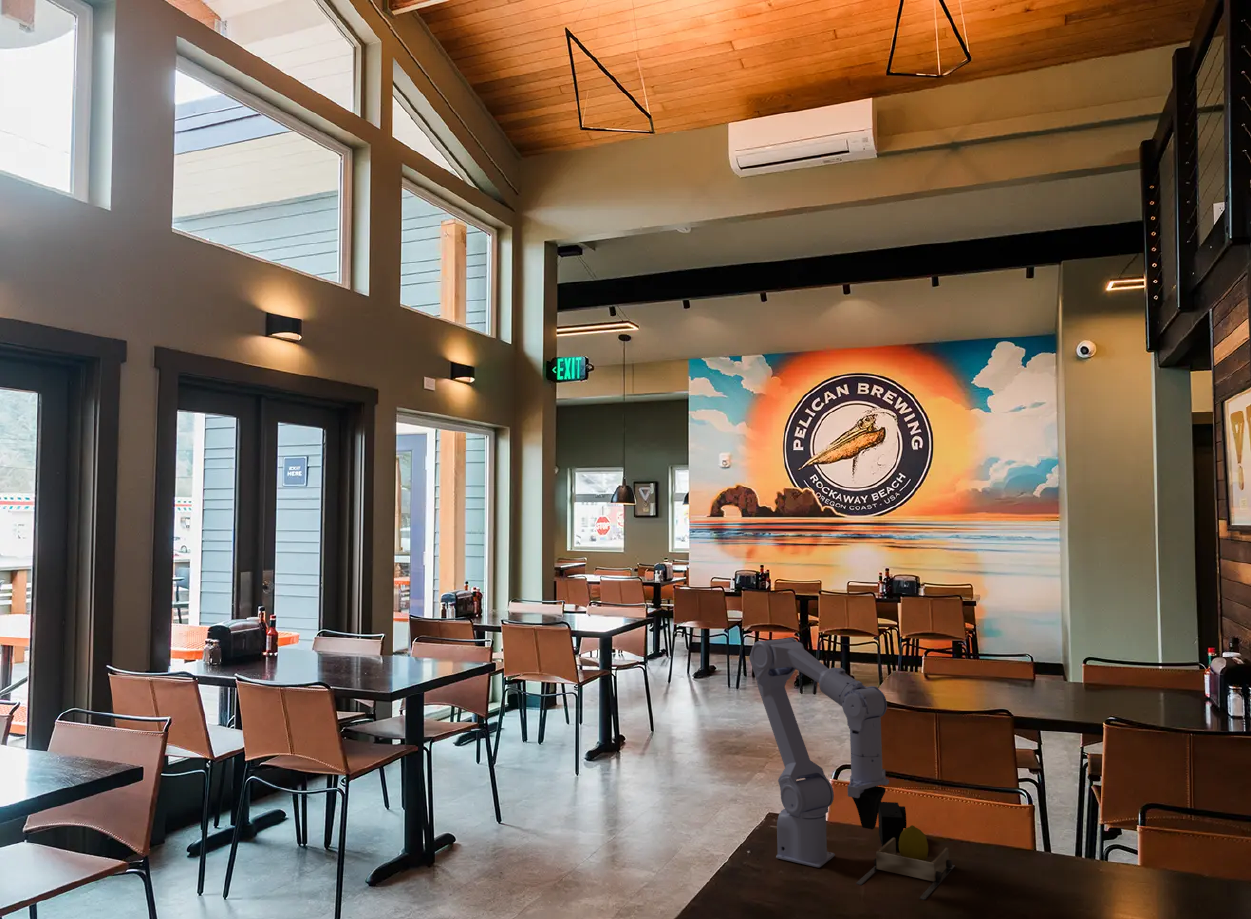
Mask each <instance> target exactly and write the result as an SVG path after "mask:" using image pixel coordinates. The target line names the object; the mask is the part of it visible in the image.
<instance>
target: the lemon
mask: <svg viewBox="0 0 1251 919" xmlns="http://www.w3.org/2000/svg"><path fill="white" fill-rule="evenodd" d="M898 842H899V851H898V852H899V854H900V856H903V857H908V858H912V859H917V860H922V861H926V860H927V858H928V857H929V856H928V854H929V844H928V840H927V837H926V834H925V833H924V832H923V831H922V830H921V829H920V828H918V827H916V826H915V825H910V826H908V827H906V828H903V831H902V832H901V834H900V838H899V841H898Z"/></svg>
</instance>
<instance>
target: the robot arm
mask: <svg viewBox="0 0 1251 919" xmlns="http://www.w3.org/2000/svg"><path fill="white" fill-rule="evenodd" d="M748 658H749V659H748V660H749V662H750V665H751V668H752V671H753V673H754V676H755V680H756V683H757V685H756V686H757V688H758V691H759V694H760V697H761V701H762V703H763V705H764V709H765V712H766V714H767V715H766V716H767V718H768V720H769V725H770V728H771V730H772V734H773V736H774V739H775V743H776V745H777V747H778V750H779V751H778V752H779V754H780V757H781V759H782V763H783V766H784V769H783V770H782V772H781V774H780V776H779V777H778V780H777V782H778V785H779V788H780V789H779V790H780V800H781V803H782V806H783V809H781V810H780V812H779V814H778V818H777V821H776V831H777V832H776V835H777V836H776V837H777V838H776V841H777V843H776V844H777V854H776V856H775V859H778V860H779V859H780V860H783V861H788V862H793V863H797V864H799V865H801V864H802V865H806V866H810V867H814V868H821V867H822V866H824V865H825V864H826V863H828V862H829V861H830V860H831V859H833V858H834V857H835V855H836V854H835V853H834V852H831V851H830V852H829V851H828V848H827V847H828V843H827V815H826V814H827V813H829V807H830V806H832V804H833V802H834V799H835V798H834V796H835V792H834V788H833V786H832V783H831V782H830V780H829V779H828V778H827V776H826V775H825V773H824V769H823V768H822V767H821V766H819V765H818V764H817V763H815V762H813V761H812V760H811V759H810V756H809V754H808V750H807V748H806V744H805V741H804V739H803V735H802V732H801V730H800V727H799V725H798V722H797V719H796V715H795V712H794V710H793V707H792V704H791V701H790V699H789V695H788V693H787V690H786V687H785V686H786V684H787V683H788V682H787V681H788V680H790V679H791V677H792V676H793V674H794V673H795V671H796V670H797V671H798V672H800V673H801V674H803V675H804V676H807V677H809V678H810V679H812V680H813V681H815V682H816V683H818V684H819V690H820V692H821V693H823V695H825V696H827V697H828V698H829V699H831V700H832V701H833V702H835V703H836V704H837V705H839V706H841V707H842V711H843V714H844V715H845V717H846V721H847V724H846V725H847V726H848V729H849V738H850V739H849V741H850V743H849V744H850V746H849V747H850V769H851V770H850V772H851V774H850V777H849V784H848V785H847V797H848V798H849V797H850V798H852V800H853V802H854V805H855V807H856V810H857V813H858V817H859V820H860V821H859V822H860V824H861V828H862V829H867V830H868V829H869V830H874V829H875V828H876V826H877V820H878V810H879V806H880V803H881V802H882V799H883V798H884V795H885V793H886V787H884V786H887V785H889V784H890V779H889V778H886V777H887V776H886V768H884V769H883V753H882V752H883V751H882V750H883V749H882V748H883V747H882V723H881V722H882V720H881V718H882V717H883V716H884V715H885V713H886V712H887V709H888V703H887V702H888V701H887V699H886V696H885V694H884V692H882V690H880V689H879V687H877V686H873V685H871V686H867V685H864V684H863V682H862V681H860V680H856V679H854V677H852V676H850V675H848V674H847V673H846V670H845V669H843V668H842V667H830V668H828V667H827V666H826V665H825V664H823V663H822V662H821V661H819V660H818V659H817V658H816V657H815V656H813V655H812V654H811V653H810V652H808V651H807V650H806V649H805V647H804V644H803V643H802V642H800V641H798V640H797V639H795V638H793V637H787V638H781V639H780V638H779V639H769V640H758V641H756V642H754V644H752V647H751V651H750V654H749V657H748ZM881 785H882V786H881Z"/></svg>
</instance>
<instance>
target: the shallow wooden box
mask: <svg viewBox="0 0 1251 919" xmlns="http://www.w3.org/2000/svg"><path fill="white" fill-rule="evenodd" d="M873 865H874V866H877V869H879V870H880V871H885V872H888V873H893V874H894V873H895V874H896V875H897V874H898V875H903V876H907V877H908V876H909V877H913V878H917V879H921V880H925V881H930V882H934V881H935V880H936V879H938V880H941V878H942V872H943V871H944V870H945V869H946V868H947V867H948V868H952V865H953V861H952V860H951V859H950V857H949V847H945V848H944V849H943V850H942V851H941V852H939V854H938V855H937V856H936V857H935V858H934V859H933V860H932V861H931V862H930V861H926V860H925V861H922V860H917V859H912V858H908V857H903V856H901V855H897V851H896V840H895V838H892V839H891V840H889V841H888V842H887V843H886V844H885V845H884V846H882V845H881V847H880V848H879V849H878V850H877V851H876V852H875V858H874V860H873Z"/></svg>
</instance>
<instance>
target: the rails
mask: <svg viewBox="0 0 1251 919" xmlns="http://www.w3.org/2000/svg"><path fill="white" fill-rule="evenodd" d="M955 867H956V866H955V864H952V868H948V867H947V868H946V869H945V870H944V871H943V872H942V878H941V880H938V879H936V880H935V881H932V883H931V884H930V885H929V886H928V887H927V889H926V890H925V891H924V892H923V893H922V894H921V895H920V897H919V900H924V901H925V900H927V899H928V898H929V897H930V896H931V894H932V893H933V892H934V891H935V890H936V889H937V887H938V886H939V885H940V884H941V883H942V882H943V881H944V880H945V878H947V876H948V875H949V874H950V872H951V871H953V869H954V868H955ZM878 870H879V869H877V866H875V865H874V866H873V867H872V868H871V869H870V870H868V871H867V873H866V874H864V875H863V876H862V877H861V878H860V879H859V880H858V881H857V882H856V883H855V884H856V885H859V886H862V885H863V884H865V882H866V881H868V880H869V879H870V878H871V877H872V876H873V875H875V873H876V872H878Z"/></svg>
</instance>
